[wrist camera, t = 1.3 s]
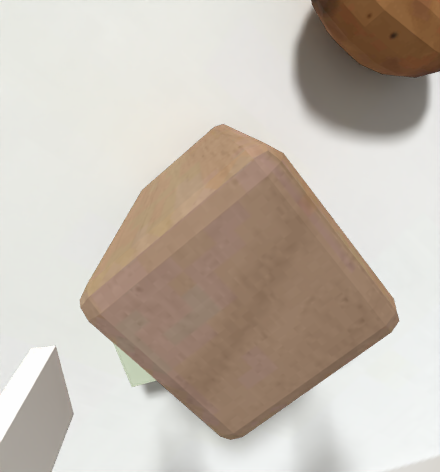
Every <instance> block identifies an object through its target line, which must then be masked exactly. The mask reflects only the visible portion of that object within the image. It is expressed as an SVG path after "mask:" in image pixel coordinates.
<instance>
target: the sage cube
mask: <svg viewBox="0 0 440 472" xmlns="http://www.w3.org/2000/svg"><path fill="white" fill-rule="evenodd" d="M113 344H114V343H113ZM114 346H115V348H116V351H117V353H118V355H119V358H120V360H121V363H122V365H123V367H124V370H125V372H126V374H127V377H128V379H129V381H130V384H131V386H132V387H135V386H138V385H142V384H146V383H149V382H153V381H157V380H155V379H154V378H153V377H152V376H151V375H150V374H148V373H147V372H146V371H145V370H144V369H143V368H142V367H140V366H139V365H138V364H137V363H136V362H135V361H134V360H132V359H131V358H130V357H129V356H128V355H127V354H126V353H124V352H123V351H122V350H121V349H120V348H119V347H118V346H116V345H115V344H114Z"/></svg>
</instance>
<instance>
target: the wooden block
mask: <svg viewBox="0 0 440 472" xmlns="http://www.w3.org/2000/svg"><path fill="white" fill-rule="evenodd" d="M80 307H81V309H82V311H83V313H84V314H85V316H86V318H87V319H88V321H89V322H90V323H91V324H92V325H94V326H95V327H96V328H97V329H98V330H99V331H100V332H102V333H103V334H104V335H105V336H106V337H107V338H108V339H110V340H111V341H112V342H113V343H114V344H115V345H116V346H118V347H119V348H120V349H121V350H122V351H123V352H124V353H126V354H127V355H128V356H129V357H130V358H131V359H132V360H134V361H135V362H136V363H137V364H138V365H139V366H140V367H142V368H143V369H144V370H145V371H146V372H147V373H148V374H150V375H151V376H152V377H153V378H154V379H155V380H157V381H158V382H159V383H160V384H161V385H162V386H163V387H165V388H166V389H167V390H168V391H169V392H170V393H171V394H173V395H174V396H175V397H176V398H177V399H178V400H179V401H181V402H182V403H183V404H184V405H185V406H186V407H187V408H189V409H190V410H191V411H192V412H193V413H194V414H195V415H197V416H198V417H199V418H200V419H201V420H202V421H203V422H205V423H206V424H207V425H208V426H209V427H210V428H211V429H213V430H214V431H215V432H216V433H217V434H218V435H219V436H221V437H224V438H227V439H230V440H232V439H236V438H240V437H243V436H245V435H246V434H247V433H249V432H250V431H252V430H253V429H255V428H256V427H257V426H259V425H260V424H262V423H263V422H265V421H266V420H267V419H269V418H270V417H272V416H273V415H274V414H276V413H277V412H279V411H280V410H282V409H283V408H284V407H286V406H287V405H289V404H290V403H292V402H293V401H294V400H296V399H297V398H299V397H300V396H301V395H303V394H304V393H306V392H307V391H309V390H310V389H311V388H313V387H314V386H316V385H317V384H319V383H320V382H321V381H323V380H324V379H326V378H327V377H328V376H330V375H331V374H333V373H334V372H336V371H337V370H338V369H340V368H341V367H343V366H344V365H346V364H347V363H348V362H350V361H351V360H353V359H354V358H356V357H357V356H358V355H360V354H361V353H363V352H364V351H365V350H367V349H368V348H370V347H371V346H373V345H374V344H375V343H377V342H378V341H380V340H381V339H383V338H384V337H385V336H387V335H388V334H390V333H391V332H392V330H393V329H394V328H395V326H396V325H397V323H398V322H399V318H398V314H397V311H396V306H395V302H394V299H393V297H392V296H391V295H390V293H389V292H388V291H387V289H386V288H385V287H384V285H383V284H382V283H381V281H380V280H379V279H378V277H377V276H376V275H375V274H374V272H373V271H372V270H371V268H370V267H369V266H368V264H367V263H366V262H365V260H364V259H363V258H362V256H361V255H360V254H359V252H358V251H357V250H356V248H355V247H354V246H353V244H352V243H351V242H350V241H349V239H348V238H347V237H346V235H345V234H344V233H343V231H342V230H341V229H340V227H339V226H338V225H337V223H336V222H335V221H334V219H333V218H332V217H331V215H330V214H329V213H328V212H327V210H326V209H325V208H324V206H323V205H322V204H321V202H320V201H319V200H318V198H317V197H316V196H315V194H314V193H313V192H312V190H311V189H310V188H309V186H308V185H307V184H306V182H305V181H304V180H303V179H302V177H301V176H300V175H299V173H298V172H297V171H296V169H295V168H294V167H293V165H292V164H291V163H290V161H289V160H288V159H287V157H286V156H285V155H284V153H282V152H280V151H278V150H276V149H275V148H273V147H271V146H269V145H267V144H265V143H263V142H261V141H259V140H257V139H255V138H252V137H250V136H248V135H246V134H244V133H242V132H239V131H237V130H235V129H233V128H231V127H229V126H226V125H224V124H222V125H219V126H216V127H214V128H213V129H211V130H210V131H209V132H208V133H207V134H206V135H205V136H203V137H202V138H201V139H200V140H199V141H198V142H197V143H195V144H194V145H193V146H192V147H191V148H190V149H189V150H187V151H186V152H185V153H184V154H183V155H182V156H181V157H179V158H178V159H177V160H176V161H175V162H174V163H173V164H171V165H170V166H169V167H168V168H167V169H166V170H165V171H163V172H162V173H161V174H160V175H159V176H158V177H157V178H155V179H154V180H153V181H152V182H151V183H150V184H149V185H147V186H146V187H145V188H144V189H143V190H142V191H141V193H140V194H139V196H138V198H137V200H136V201H135V203H134V205H133V206H132V208H131V210H130V212H129V213H128V215H127V217H126V218H125V220H124V222H123V224H122V225H121V227H120V229H119V230H118V232H117V234H116V236H115V237H114V239H113V241H112V242H111V244H110V246H109V248H108V249H107V251H106V253H105V254H104V256H103V258H102V260H101V261H100V263H99V265H98V266H97V268H96V270H95V272H94V273H93V275H92V277H91V278H90V280H89V282H88V284H87V286H86V288H85V290H84V292H83V294H82V296H81V299H80Z"/></svg>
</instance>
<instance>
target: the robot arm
mask: <svg viewBox="0 0 440 472" xmlns="http://www.w3.org/2000/svg"><path fill="white" fill-rule="evenodd" d="M72 417H73V410H72V406H71V402H70V398H69V395H68V391H67V387H66V383H65V379H64V376H63V372H62V368H61V364H60V360H59V356H58V353H57V349H56V346H48V347H39V348H31V349H30V351H29V352H28V354H27V355H26V357H25V358H24V360H23V361H22V363H21V364H20V366H19V367H18V369H17V370H16V372H15V373H14V375H13V376H12V378H11V379H10V381H9V382H8V384H7V385H6V387H5V388H4V390H3V391H2V393H1V394H0V472H52V469H53V466H54V464H55V461H56V459H57V456H58V453H59V451H60V448H61V446H62V443H63V440H64V438H65V435H66V433H67V430H68V427H69V425H70V422H71V420H72Z"/></svg>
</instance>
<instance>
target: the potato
mask: <svg viewBox="0 0 440 472" xmlns="http://www.w3.org/2000/svg"><path fill="white" fill-rule="evenodd" d="M311 1H312V5H313V7H314V9H315V11H316V13H317V14H318V16H319V18H320V20H321V21H322V23H323V25H324V27H325V29H326V30H327V32H328V33H329V34H330V35H331V37H332V38H333V39H334V40H335V41H336V42H337V43H338V44H339V45H340V46H341V47H342V48H343V49H344V50H345V51H346V52H347V53H348V54H349V55H350V56H351V57H352V58H353V59H355V60H356V61H357V62H358V63H359V64H361V65H363V66H365V67H367V68H370V69H372V70H374V71H376V72H378V73H381V74H386V75H394V76H404V77H414V78H416V77H420V76H423V75H427V74H431V73H435V72H439V71H440V0H311Z"/></svg>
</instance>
